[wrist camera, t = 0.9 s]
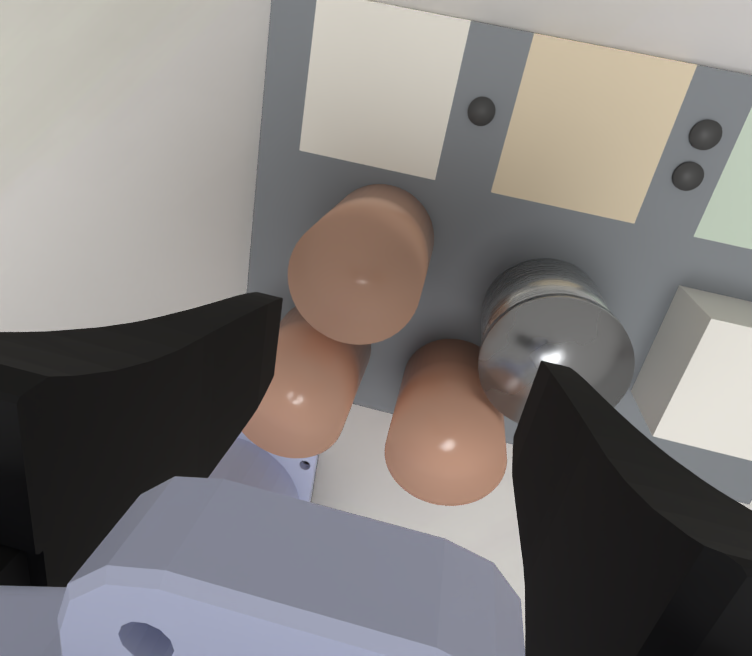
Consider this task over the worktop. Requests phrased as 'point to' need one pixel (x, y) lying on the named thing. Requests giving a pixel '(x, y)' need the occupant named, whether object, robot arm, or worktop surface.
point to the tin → (549, 334)
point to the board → (508, 172)
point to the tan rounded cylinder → (363, 265)
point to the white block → (700, 374)
